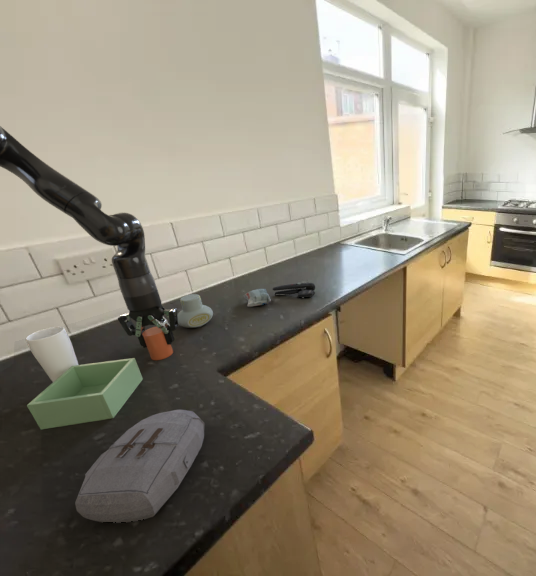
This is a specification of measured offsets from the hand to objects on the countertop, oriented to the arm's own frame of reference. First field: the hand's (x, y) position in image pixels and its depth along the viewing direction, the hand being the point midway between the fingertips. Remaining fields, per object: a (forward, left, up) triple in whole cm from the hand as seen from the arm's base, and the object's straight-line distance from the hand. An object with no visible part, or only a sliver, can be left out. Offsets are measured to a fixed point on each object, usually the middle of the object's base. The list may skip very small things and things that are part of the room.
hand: (158, 344), depth 91 cm
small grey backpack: (+15, -41, -4) cm, 44 cm away
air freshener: (+4, +18, -4) cm, 19 cm away
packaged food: (+22, +30, -4) cm, 37 cm away
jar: (0, 0, -3) cm, 3 cm away
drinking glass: (-18, -9, -4) cm, 20 cm away
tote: (-7, -18, -3) cm, 20 cm away
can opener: (+36, +34, -4) cm, 50 cm away
